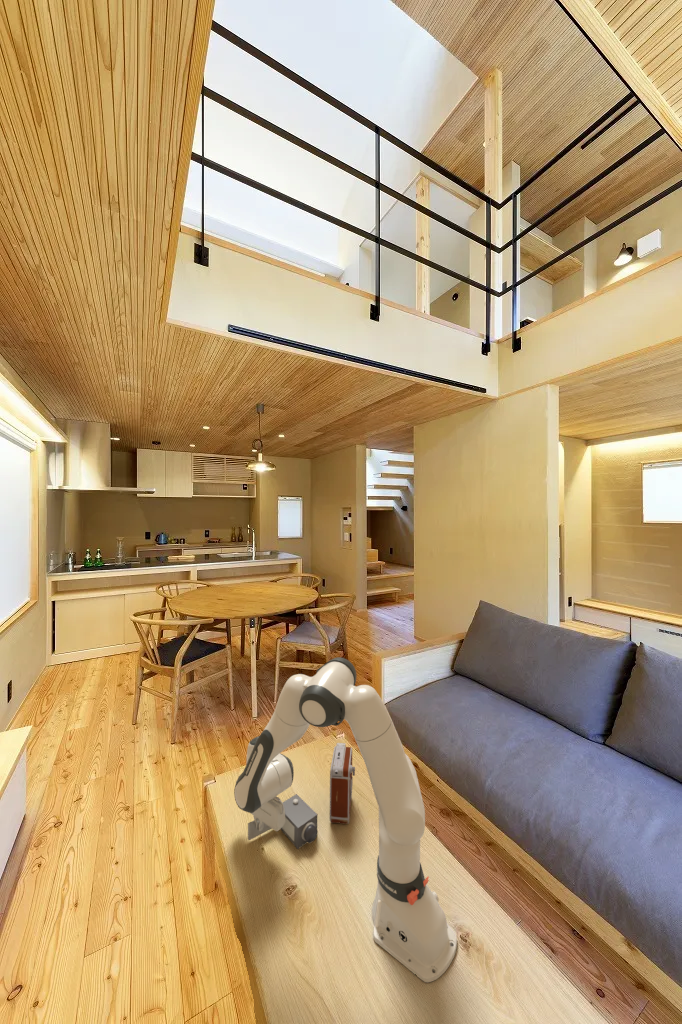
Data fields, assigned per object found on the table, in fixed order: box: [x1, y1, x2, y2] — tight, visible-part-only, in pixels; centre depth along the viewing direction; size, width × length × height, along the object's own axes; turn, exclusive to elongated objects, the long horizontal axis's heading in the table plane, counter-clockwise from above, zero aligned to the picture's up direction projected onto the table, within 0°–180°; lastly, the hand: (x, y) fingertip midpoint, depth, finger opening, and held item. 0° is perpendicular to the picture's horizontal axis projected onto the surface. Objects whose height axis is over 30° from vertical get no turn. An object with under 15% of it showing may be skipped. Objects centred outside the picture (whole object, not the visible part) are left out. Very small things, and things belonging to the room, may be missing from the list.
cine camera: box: [329, 742, 356, 825], centre depth 139 cm, size 9×19×20 cm, turn 174°
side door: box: [247, 819, 273, 841], centre depth 126 cm, size 10×1×6 cm, turn 125°
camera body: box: [280, 793, 319, 850], centre depth 127 cm, size 14×8×8 cm, turn 42°
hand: (259, 828), depth 123 cm, fingers closed
